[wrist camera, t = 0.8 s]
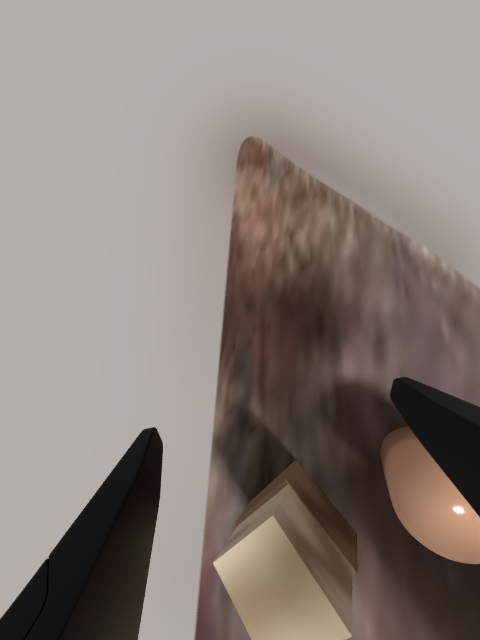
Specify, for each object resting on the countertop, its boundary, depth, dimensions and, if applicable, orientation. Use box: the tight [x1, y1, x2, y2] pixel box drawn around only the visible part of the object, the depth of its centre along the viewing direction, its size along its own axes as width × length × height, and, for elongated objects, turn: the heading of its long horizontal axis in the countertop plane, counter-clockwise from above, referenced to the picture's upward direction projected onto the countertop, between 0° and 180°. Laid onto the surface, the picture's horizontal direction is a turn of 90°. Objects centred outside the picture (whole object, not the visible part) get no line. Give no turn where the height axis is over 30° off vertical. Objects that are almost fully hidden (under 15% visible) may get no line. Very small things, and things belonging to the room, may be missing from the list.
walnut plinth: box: [234, 460, 357, 577], centre depth 17 cm, size 6×6×4 cm
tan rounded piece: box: [380, 427, 480, 564], centre depth 13 cm, size 5×5×5 cm
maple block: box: [213, 484, 352, 640], centre depth 14 cm, size 6×6×4 cm
